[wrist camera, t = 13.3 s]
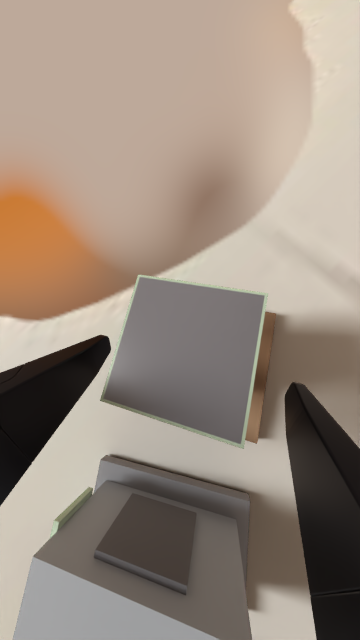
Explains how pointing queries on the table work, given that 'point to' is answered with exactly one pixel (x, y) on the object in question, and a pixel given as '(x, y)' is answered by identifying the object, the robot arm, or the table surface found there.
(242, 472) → the table surface
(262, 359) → the walnut pad
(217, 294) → the block
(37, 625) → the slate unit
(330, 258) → the table surface
